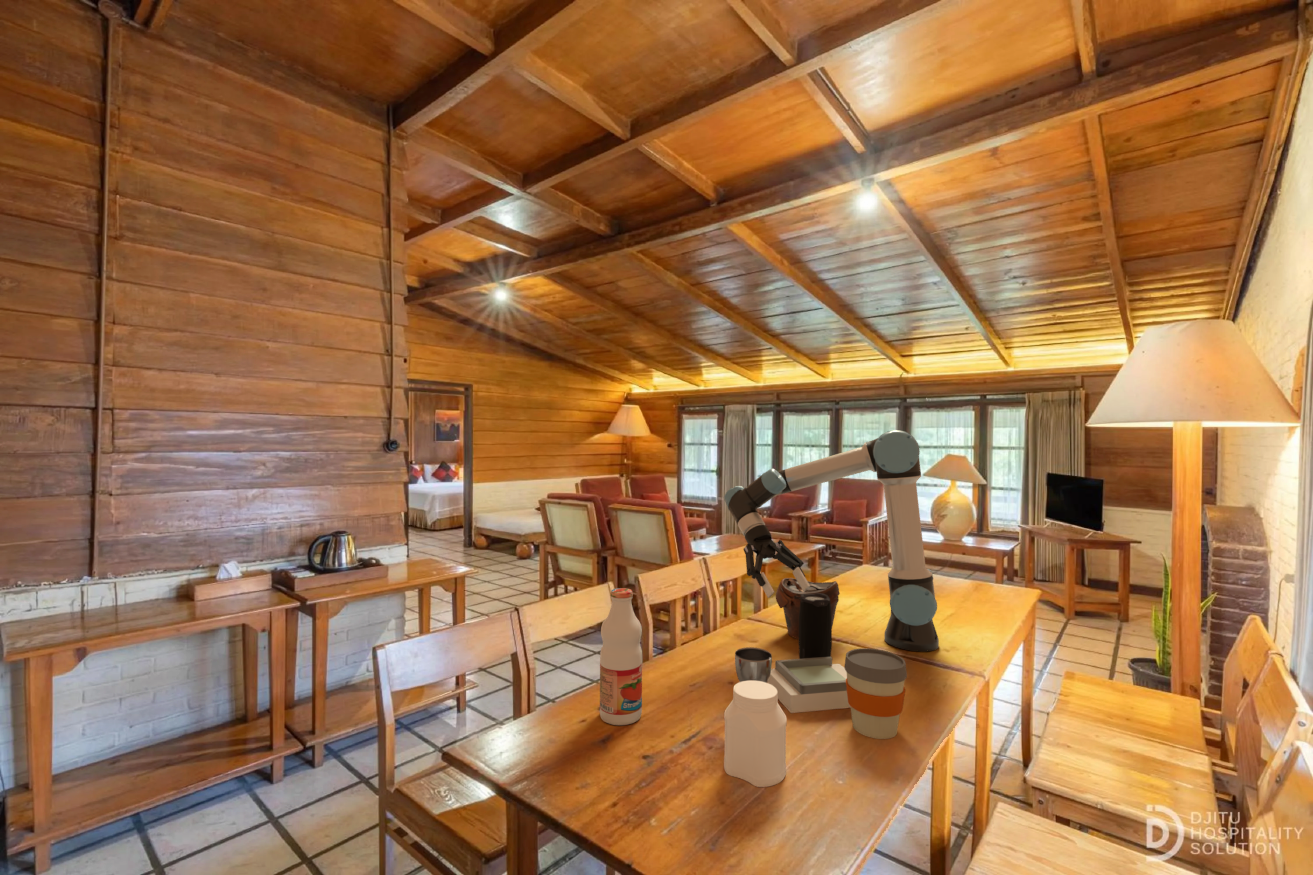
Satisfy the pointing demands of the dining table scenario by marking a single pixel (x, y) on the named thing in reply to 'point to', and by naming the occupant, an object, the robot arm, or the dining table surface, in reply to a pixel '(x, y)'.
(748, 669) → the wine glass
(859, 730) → the reusable coffee cup
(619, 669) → the fruit juice
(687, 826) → the dining table surface
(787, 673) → the dock
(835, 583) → the brown tapered open container
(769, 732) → the jar
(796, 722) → the dining table surface
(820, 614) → the portable speaker
